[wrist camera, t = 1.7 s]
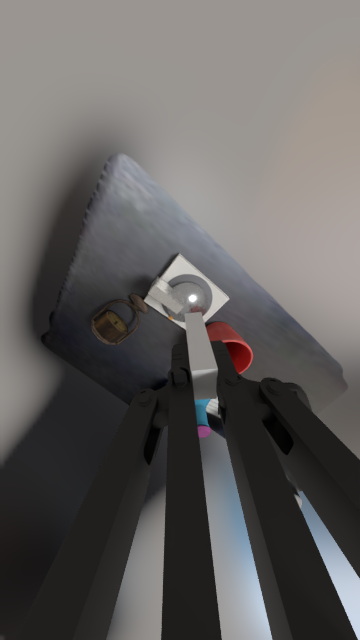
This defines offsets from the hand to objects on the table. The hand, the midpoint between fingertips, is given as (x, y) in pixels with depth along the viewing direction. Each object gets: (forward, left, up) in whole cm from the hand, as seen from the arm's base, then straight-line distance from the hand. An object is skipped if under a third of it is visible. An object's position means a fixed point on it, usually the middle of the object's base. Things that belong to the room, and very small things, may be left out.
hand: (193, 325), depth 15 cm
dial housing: (-4, +4, -21) cm, 22 cm away
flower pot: (-17, +7, -21) cm, 28 cm away
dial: (-2, +4, -19) cm, 19 cm away
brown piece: (+4, +17, -21) cm, 28 cm away
